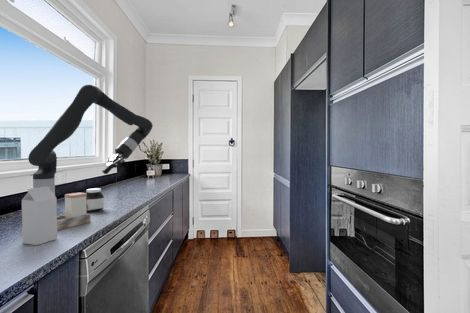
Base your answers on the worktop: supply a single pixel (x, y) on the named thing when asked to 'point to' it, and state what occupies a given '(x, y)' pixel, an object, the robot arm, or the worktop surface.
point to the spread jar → (94, 200)
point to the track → (72, 221)
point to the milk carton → (39, 216)
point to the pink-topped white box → (75, 205)
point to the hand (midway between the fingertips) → (104, 172)
